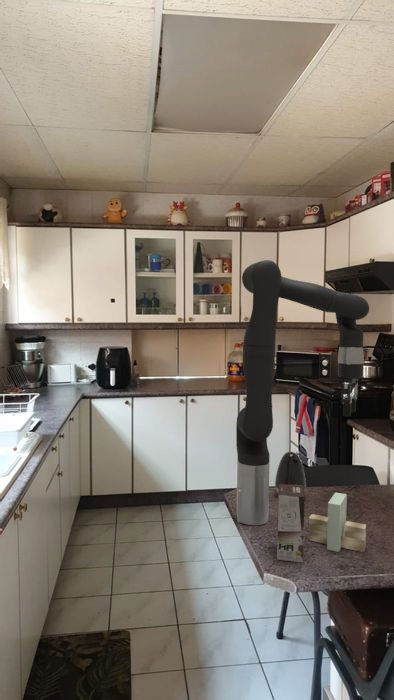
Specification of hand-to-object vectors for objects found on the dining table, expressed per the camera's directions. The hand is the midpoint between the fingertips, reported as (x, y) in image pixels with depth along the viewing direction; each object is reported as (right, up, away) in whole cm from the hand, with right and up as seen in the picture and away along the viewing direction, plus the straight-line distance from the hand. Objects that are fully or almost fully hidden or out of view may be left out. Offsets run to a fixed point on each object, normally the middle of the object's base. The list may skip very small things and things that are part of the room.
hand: (349, 414), depth 144 cm
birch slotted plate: (-11, -31, -22) cm, 40 cm away
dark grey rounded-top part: (-16, -30, +12) cm, 36 cm away
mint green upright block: (-11, -31, -22) cm, 40 cm away
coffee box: (-24, -31, -28) cm, 48 cm away
